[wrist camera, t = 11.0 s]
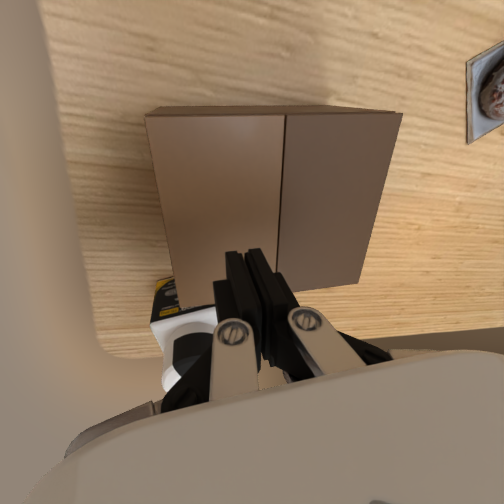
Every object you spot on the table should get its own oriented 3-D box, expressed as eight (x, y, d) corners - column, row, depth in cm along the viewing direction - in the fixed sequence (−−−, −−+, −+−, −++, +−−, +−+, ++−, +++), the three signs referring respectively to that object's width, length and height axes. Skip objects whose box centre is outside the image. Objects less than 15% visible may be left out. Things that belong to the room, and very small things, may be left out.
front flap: (180, 304, 20) (179, 308, 20) (144, 116, 14) (143, 116, 13) (272, 293, 21) (274, 296, 21) (282, 114, 15) (284, 115, 14)
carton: (181, 243, 28) (178, 309, 20) (160, 106, 22) (141, 115, 13) (311, 230, 31) (359, 283, 23) (328, 105, 24) (405, 112, 16)
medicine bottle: (216, 265, 31) (231, 348, 21) (228, 308, 35) (245, 397, 25) (155, 280, 30) (140, 373, 20) (174, 323, 34) (169, 419, 24)
